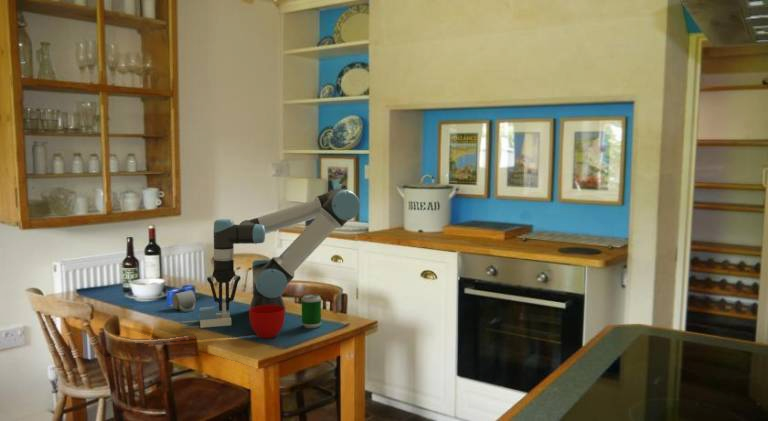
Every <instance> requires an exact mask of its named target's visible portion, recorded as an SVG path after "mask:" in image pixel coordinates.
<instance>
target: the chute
mask: <svg viewBox="0 0 768 421" xmlns="http://www.w3.org/2000/svg"><path fill="white" fill-rule="evenodd" d="M180 323H181V325H182V324H185V325H186V324H196V323H199V325H191V326H190V325H189V326H188V325H187V326H181V327H180V329H181V330H188V329H189V330H190V329H199V328H212V327H226V326H232V317H231V313H230V312H226V318H222V312H219V313H217V312H216V319H205V320H200V319H199V320H198V319H197V320H186V321H180Z"/></svg>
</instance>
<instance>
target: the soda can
mask: <svg viewBox="0 0 768 421" xmlns="http://www.w3.org/2000/svg"><path fill="white" fill-rule="evenodd" d="M301 324H302V326H303V327H304V328H306V329H316V328H319V327H320V325H322V298H321V296H320V295H319V294H316V293H314V294H313V293H312V294H311V293H310V294H309V293H308V294H304V295H303V297H301Z"/></svg>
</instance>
